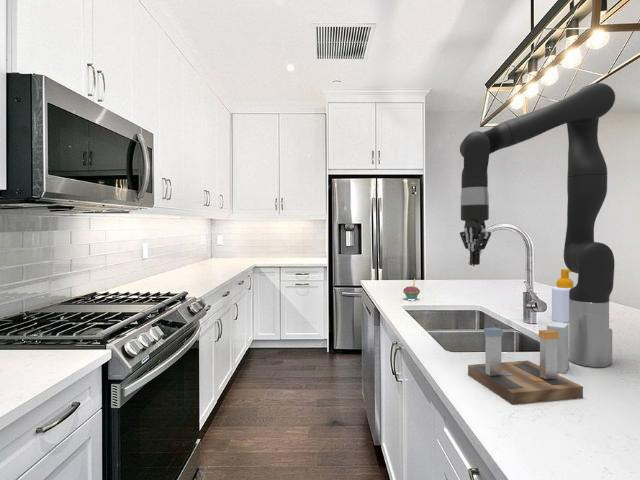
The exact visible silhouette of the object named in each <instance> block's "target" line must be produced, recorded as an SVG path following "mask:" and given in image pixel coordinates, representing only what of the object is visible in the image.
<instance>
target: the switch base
mask: <svg viewBox="0 0 640 480" xmlns="http://www.w3.org/2000/svg"><path fill="white" fill-rule="evenodd" d="M467 375H468V376H469V377H471V378H472V379H474V380H475V381H477V382H478V383H480V384H481V385H483V386H484V387H486V388H487V389H489V390H490V391H492V392H493V393H495V394H496V395H497V396H499V397H501V398H502V399H503V400H505V401H507V402H508V403H510V404H511V405H520V404H530V403H531V404H533V403H542V402H543V403H544V402H553V401H554V402H555V401H561V400H562V401H565V400H566V401H567V400H573V399H574V400H575V399H584V386H583V385H580V384H578V383H576V382H574V381H572V380H570V379H568V378H565V377H564V376H561V375H560V374H558V373H557V379H544V378H542V377H540V365H539V364H536V363H534V362H532V361H530V360H517V361H504V362H502V375H496V376H489V375H487V374H486V371H485V363H477V364H468V365H467Z"/></svg>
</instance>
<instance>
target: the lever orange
mask: <svg viewBox="0 0 640 480" xmlns="http://www.w3.org/2000/svg"><path fill="white" fill-rule="evenodd" d="M538 338H539V366H540V377H542V378H544V379H557V374H558V372H557V339H559V332H558V331H555V330H547V329H539V330H538Z"/></svg>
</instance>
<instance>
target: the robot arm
mask: <svg viewBox="0 0 640 480" xmlns="http://www.w3.org/2000/svg"><path fill="white" fill-rule="evenodd" d="M615 101H616V93H615V91H614V89H613V88H612V87H611V86H610V85H608V84H606V83H603V82H595V83H593V82H592V83H589V84H587V85H585V86H583V87H582V88H580V89H579V90H577V91H576V92H574V93H572V94H570V95H569V96H567V97H565V98H563V99H560V100H558V101H556V102H554V103H552V104H548V105H547V106H544V107H542V108H538V109H536V110H533V111H530V112H527V113H524V114H522V115H519V116H517V117H513V118H510V119H509V120H508V119H507V120H505V121H502V122H500V123H498V124H496V125H494V126H493V127H492V128H490V129H487V130H485V131H477V130H475V131H472V132H470V133H469V134H467V135H466V136H465V137H464V138H463V140H462V142H461V143H460V145H459V153H460V155H461V156H462V157H463V169H462V171H461V181H460V182H461V183H460V184H461V192H460V220H461V221H463V222H464V225H463V228H464V230H462V231H460V232H459V235H460V238H461V241H462V243H463V244H462V245H463V246H464V248H465V250H468V252H469V264H470V265H472V266H479V265H480V263H481V262H480V260H481V255H480V254H481V252H482V250H485V249H486V247H487V244H488V242H489V241H490V238H491V235H492V232H491V231H487V230H486V221H489V217H490V216H489V214H490V210H489V209H490V208H489V206H490V205H489V203H490V201H489V198H490V197H489V195H490V193H489V190H488V188H489V187H488V186H489V182H488V181H489V177H488V167H489V160H490V154H493V153H495V152H497V151H499V150H502V149H506V148H509V147H513V146H514V145H518V144H520V143H523V142H525V141H527V140H528V141H529V140H530V139H533V138H535V137H537V136H540V135H542V134H544V133H546V132H548V131H551V130H552V129H555V128H558V127H559V126H563V125H565V124H566V127H567V140H568V146H567V147H568V149H567V150H568V153H567V174H566V175H567V180H566V181H567V182H566V186H567V192H566V193H567V211H566V212H567V213H566V217H567V218H566V224H567V225H566V232H565V238H564V240H565V241H564V247H563V262H564V265H565V267H566V268H567V269H569V270H570V271H572V272H571V273H574V274H578V275H577V283H576V285H574V286H575V287H573V288H571V289H570V290H569V323H568V324H569V362H571V363H574V364H576V365H580V366H584V367H589V368H590V367H592V368H607V367H609V365H613V330H612V328H610V296H611V294H612V292H613V290H614V279H615V256H614V252H613V250H612V249H611V248H610V247H609V245H607V244H605V243H604V242H599V241H598V242H597V241H595V224H596V220H597V217H598V215H599V213H600V211H601V209H602V206H603V204H604V202H605V199H606V198H607V194H608V193H607V192H608V166H607V163H606V160H605V157H604V155H603V152H602V150H601V148H600V144H599V140H598V138H599V137H598V131H599V121H600V118H602V117H603V116H605V115H606V114H607V113H609V111H610V110H611V109H612V108H613V107H614V104H615Z"/></svg>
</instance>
